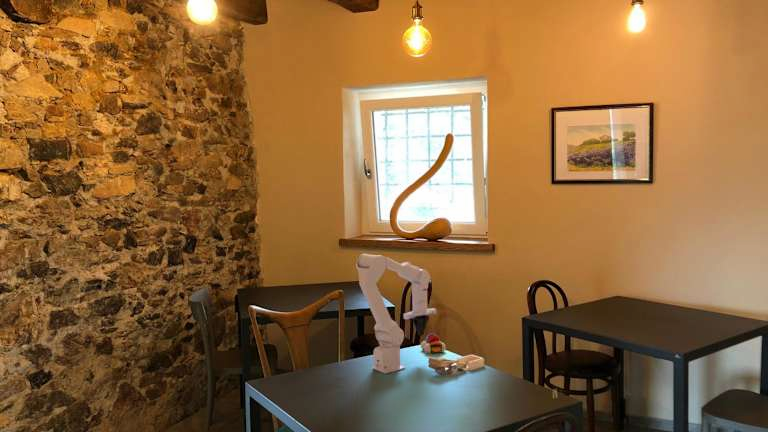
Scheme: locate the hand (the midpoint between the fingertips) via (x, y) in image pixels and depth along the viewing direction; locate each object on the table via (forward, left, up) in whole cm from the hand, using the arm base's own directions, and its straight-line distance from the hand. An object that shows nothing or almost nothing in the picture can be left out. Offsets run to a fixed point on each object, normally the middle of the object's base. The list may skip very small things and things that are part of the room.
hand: (420, 334), depth 238 cm
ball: (+10, -19, -7) cm, 23 cm away
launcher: (-3, -15, -8) cm, 18 cm away
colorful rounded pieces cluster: (+10, +5, -10) cm, 15 cm away
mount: (-3, -19, -9) cm, 21 cm away
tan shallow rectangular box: (+8, -19, -9) cm, 23 cm away
